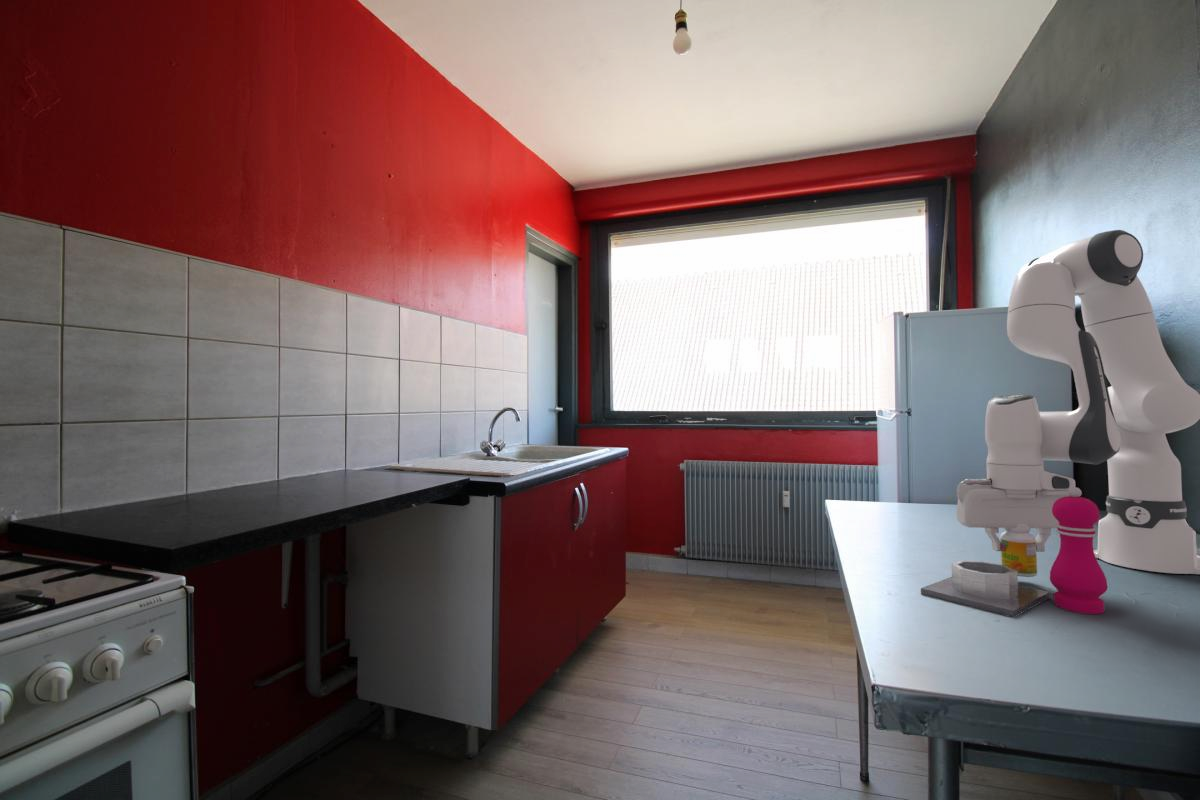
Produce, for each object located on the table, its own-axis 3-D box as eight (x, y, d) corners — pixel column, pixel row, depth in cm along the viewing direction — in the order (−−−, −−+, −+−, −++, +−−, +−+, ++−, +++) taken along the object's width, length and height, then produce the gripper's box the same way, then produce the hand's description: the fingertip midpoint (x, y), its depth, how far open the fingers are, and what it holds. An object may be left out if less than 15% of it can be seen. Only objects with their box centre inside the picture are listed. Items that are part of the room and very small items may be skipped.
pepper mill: (1120, 617, 86) (1115, 490, 86) (1067, 614, 87) (1063, 489, 88) (1089, 601, 93) (1084, 484, 94) (1041, 599, 94) (1037, 484, 95)
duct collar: (960, 578, 107) (960, 552, 107) (1049, 597, 95) (1048, 569, 95) (920, 593, 98) (920, 565, 98) (1013, 617, 86) (1012, 585, 86)
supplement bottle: (994, 571, 106) (992, 520, 106) (1015, 568, 107) (1013, 518, 108) (1023, 578, 100) (1020, 525, 101) (1044, 575, 102) (1042, 523, 102)
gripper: (965, 480, 103) (968, 554, 102) (1085, 480, 100) (1089, 555, 99) (948, 477, 109) (951, 546, 109) (1061, 476, 106) (1064, 547, 106)
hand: (1018, 550), depth 104 cm, fingers closed on supplement bottle, 5 cm apart
